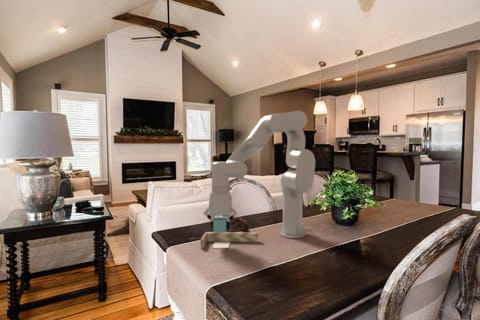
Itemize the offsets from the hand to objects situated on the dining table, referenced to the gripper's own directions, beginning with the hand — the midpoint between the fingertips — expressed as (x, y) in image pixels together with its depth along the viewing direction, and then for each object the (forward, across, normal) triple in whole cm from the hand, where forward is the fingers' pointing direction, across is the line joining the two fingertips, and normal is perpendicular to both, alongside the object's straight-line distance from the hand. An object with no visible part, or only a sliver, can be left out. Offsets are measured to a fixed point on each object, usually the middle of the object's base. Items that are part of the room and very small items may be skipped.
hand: (220, 229), depth 122 cm
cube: (+1, 0, 0) cm, 1 cm away
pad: (+7, 0, 0) cm, 7 cm away
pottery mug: (+7, -7, -20) cm, 23 cm away
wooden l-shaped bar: (+7, -4, -1) cm, 8 cm away
